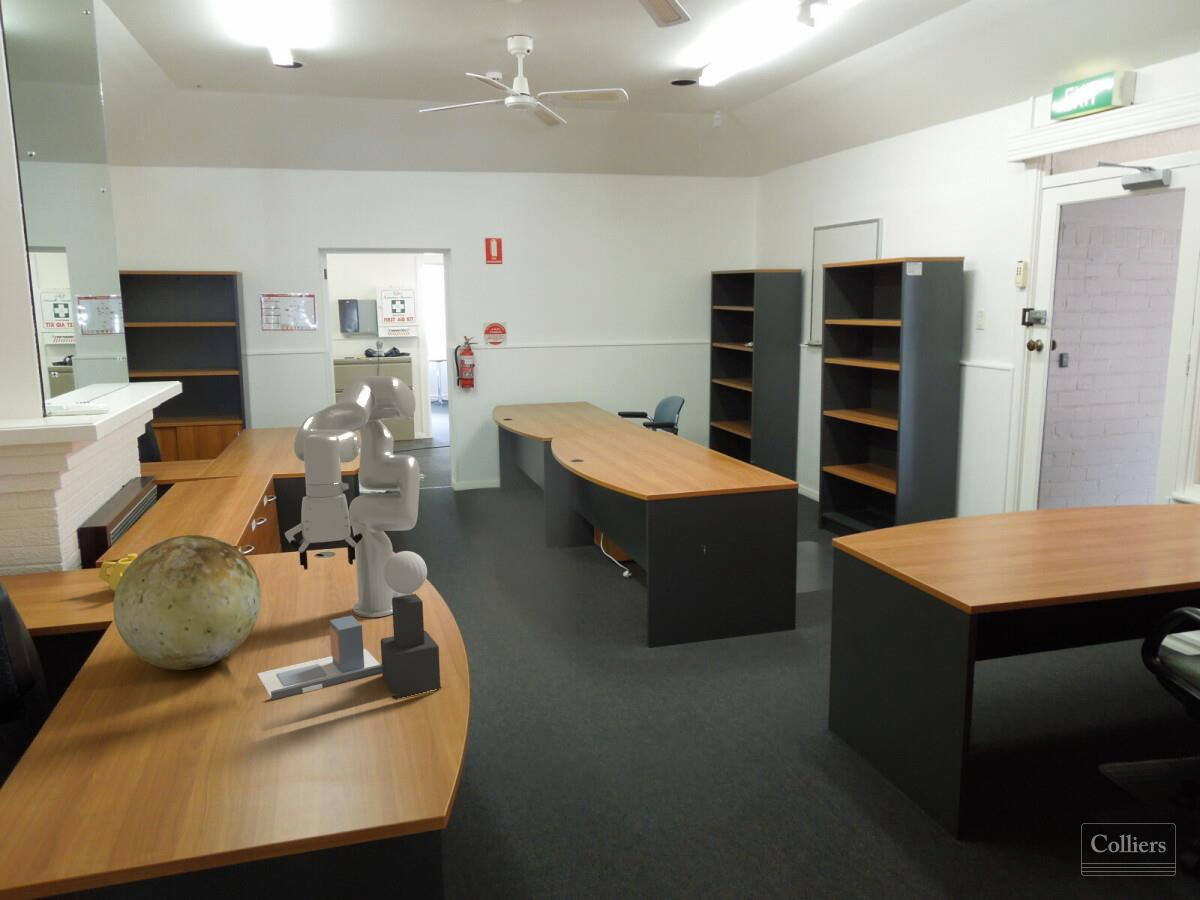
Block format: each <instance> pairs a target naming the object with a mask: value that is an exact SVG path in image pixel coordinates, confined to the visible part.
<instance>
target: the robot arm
mask: <svg viewBox="0 0 1200 900" xmlns="http://www.w3.org/2000/svg"><path fill="white" fill-rule="evenodd" d="M416 404H417V403H416V398H415V395H414V392H413V391H412V390H411V388H410V387H409V386H408V385H407V384H406V383H405V382H404V381H403V380H401V379H400V378H398V377H396V376H392V375H361V376H360V375H359V376H356V377H353V378H352V379H351V380H349V381H348V382H347V384H346V385H345V388H344V389H343V391H342V392H341V394H340V396H339V398H338V399H337V401H336V403H335V404H331V405H328V406H327V407H325V408H323V409H321V410H319V411H317V412H315V413H313V414H311V415H310V416H308V417H307V418H305V420H304V421H303V423H302V425H301V426H300V427H299V430H298V431H297V433H296V435H295V438H294V441H293V449H294V454H295V457H297V458H298V459H299V460H300V461H301V462H303V463H304V477H305V493H306V494H305V495H306V496H303V497H302V501H301V514H300V515H301V521H300V523H299V524H297V525H295V526H294V527H292V528H290V529H289V530H287V531H286V532H284V535H285V538H286V540H287V541H288V542H289V544H290V545H291V546H292V547H293V549H295V550H297V551H298V552H299V553H298V554H299V564H300V566H303V570H308V569H309V567H308V566H309V565H308V551H307V548H308V546H309V545H310V544H314V543H326V542H334V541H335V542H336V541H337V542H338V541H343V540H344V541H345V542H346V543H348V544H347V545H346V548H347V562H348V564H349V565H351V566H352V565H354V560H355V563H356V579H357V581H356V582H357V597H358V599H357V600H358V602H357V603H355V604H354V605H353V606H352V612H353V614H355V615H356V616H358V617H361V618H362V617H363V618H381V617H387V616H390V615H393V610H392V598H393V597H399V596H405V595H411V594H414V593H413V592H412V593H407V594H403V593H398V592H396V591H394V590H392V589H391V588H390V587H389V586H388V585H387V583H386V580H385V577H384V569H385V565H386V563H387V561H388V560H389V559H390V558H391V557H392V556H393V555H394V554H393V552H394V551H393V543H392V542H391V539H390V538H389V536H388V535H387V534H386V533H385V532H387V531H389V532H390V531H393V532H394V531H396V532H397V531H410V530H412V529H414V528H415V526H416V524H417V521H418V514H419V501H420V500H419V498H420V483H421V482H420V481H421V471H420V465H419V462H418V460H417V458H416V457H414V456H413V455H409V454H394V442H395V439H394V436H393V434H392V433H391V431H390V430H389V429H388V427H387V426H386V425H385V424H384V423H383V422H382V421H384V420H385V421H386V420H387V421H388V420H389V421H391V420H392V421H395V420H396V421H397V420H398V421H403V420H409V419H411V418H412V417H413V415H414V414H415V411H416V408H417V407H416V406H417V405H416ZM356 431H358V432H359V435H360V437H359V435H358V434H357V433H355V432H356ZM358 455H359V466H358V482H359V485H360V486H361V488H362V489H365V490H369V491H399V492H400V494H398V493H397V494H396V493H395V494H394V493H393V494H392V493H391V494H386V493H385V494H384V493H381V494H379V493H375V494H374V493H372V494H371V493H370V494H363V495H358V496H356V497H355V498H354V499H353V500H351V502H350V504H349V506H348V500H347V497H346V494H345V493H344V491H346V490H349V489H350V488H349V486H350V485H349V483H345V482H344V481H342V467H341V466H342V465H341V464H343V463H350V462H353V460H355V459H356V458H357V457H358ZM348 507H349V508H348ZM351 527H352V532H353V537H352V536H351V534H352V533H351ZM300 532H301V536H302V540H301V541H300V542H299V541H298V540H297V539H295V537H294V536H295V535H297V534H298V533H300Z"/></svg>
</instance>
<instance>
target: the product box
mask: <svg viewBox="0 0 1200 900" xmlns="http://www.w3.org/2000/svg"><path fill="white" fill-rule="evenodd" d="M329 624H330V625H329V637H330V639H329V640H330V653H331V656H332V658H333V663H334V664H335V666H336V667H337V668H338V669H339V670H340V672H341V673H345V672H350V671H354V670H358V669H362V668H364V652H363V649H364V640H363V625H362V624H361V623H360V622H359V621H358V619H356V618H355V617H354V616H353V615H347V616H343V617H339V618H334V619H330V620H329Z"/></svg>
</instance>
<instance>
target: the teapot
mask: <svg viewBox="0 0 1200 900" xmlns="http://www.w3.org/2000/svg"><path fill="white" fill-rule="evenodd" d="M140 554H141V553H138V554H137V553H134V552H133V553H129V554H127V555H126V557H124V558H121V559H119V560H117V561H103V562H102V563H101V567H100V571H99V572H98V578H100V579H101V580H102V581H104V582H106V583H107V584H108V585H109V587H110V589H111V590H113V592H114V593H115V592H116V589H117V585H118V583H119V581H120V579H121V577H122V575H123V573H124V572H125V570H126V569H127V567H128V566H129V565H130V564H131V563H132V561H133V560H134V559H135V558H136V557H137V556H139V555H140ZM108 568H112V570H111V572H110V574H109V573H108Z"/></svg>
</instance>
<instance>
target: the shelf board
mask: <svg viewBox="0 0 1200 900" xmlns="http://www.w3.org/2000/svg"><path fill="white" fill-rule="evenodd" d="M363 652H364V668H362V669H358V670H354V671H350V672H345V673H341V672H340V670H339V669H338V668H337V667H336V666H335V664H334V663H333V658H332V655H331V656H327V657H322V658H318V659H313V660H310V661H309V660H307V661H305V662H301V663H297V664H291V665H287V666H283V667H280V668H276V669H275V668H274V669H271V670H266V671H262V672H258V673H256V675H257V676H258V678H259V680H260V682H261V684H262V685H263V686H264V689H265V690H266V692H267V693H268V696H269V697H270V699H271V701H275V700H279V699H282V698H287V697H290V696H294V695H299V694H304V693H310V692H313V691H317V690H321V689H323V688H327V687H330V686H334V685H338V684H342V683H346V682H350V681H354V680H358V679H363V678H367V677H370V676H374V675H378V674H382V663H381V664H380V662H379V661H378V660H377V659H376V658H375V657H374V656H373V655H372V654H371V653H370V652H369V651H368V650H367V649H366V648H365V647H363Z"/></svg>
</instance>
